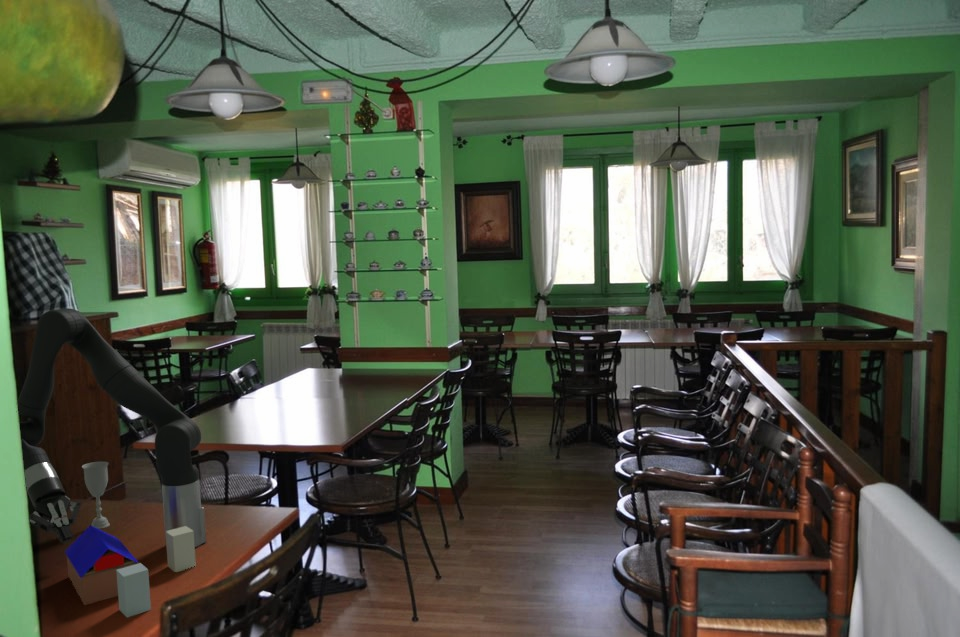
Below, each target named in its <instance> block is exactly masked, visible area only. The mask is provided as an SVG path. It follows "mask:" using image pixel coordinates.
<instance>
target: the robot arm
mask: <svg viewBox="0 0 960 637" xmlns="http://www.w3.org/2000/svg"><path fill="white" fill-rule="evenodd" d="M103 337H104V336H102V335H101V334H100V333H99V331H98V330H97V329H96V328H95V327H94V325H93V324H92V323H91V322H90V321H89V320H88V318H87V317H86V316H85V315H84V314H83V313H82V312H80V311H79V310H76V309H74V308H69V307H67V308H66V307H65V308H57V309H51V310H48V311H46V312H44V313H42V314H41V316H40V317H39V319H38V320H37V324H36V328H35V333H34V339H33V345H32V351H31V355H30V360H29V366H28V371H27V373H26V377H25V380H24V383H23V386H22V388H21V391H20V394H19V397H18V399H17V402H18V411H19V413H18V414H19V415H20V416H22V417H25V418H27V421H19V422H20V430H21V439H22V449H23V460H24V469H25V478H26V487H27V491H26V492H27V494H28V496H29V500H30V501H31V503H32V506H33V513H30V514H29V516H30V522H31V524H30V525H32V526H34V527H36V528H38V529H40V530H42V531H43V532H46V533H50V532H55V533H56V536H57V537H58V541H59V542H61V543H63V544H64V545H65V544H68V543H71V541H72V538H73V536H74V533H73V530H72V529H71V527H72V526H73V525H74V523H75V521H76V518H77V517H78V514H79V512H80V509H81V506H82V504H83V502H82V501H77V502H74V501H71V498H69V497H68V496H67V494H66V491H65V488H64V487H63V484H62V482H61V480H60V478H59V476H58V474H57V471H56V470H55V468H54V467H53V465H52V463H51V461H50V459H49V456H48V454H47V452H46V451H45V449H43V448H42V447H39V444H41V443H42V442H43V439H44V437H45V433H46V432H45V427H46V423H45V422H46V412H47V410H48V406H49V403H50V401H51V398H52V395H53V392H54V389H55V388H54V387H55V362H56V360H57V357H58V355H59V352H60V351H61V349H62V347H63V346H64V345H65V344H68V345H69V346H71V347H72V348H73V349H75V350H76V351H77V352H78V353H79V354H80V355H81V356H83V357H84V359H85V360H86V361H87V363H88V366H89V367H90V370H91V373H92V375H93V377H94V380H95V381H96V383H97V385H98V386H99V387H100V388H101V389H102V390H103V391H104V392H105V393H106V394H107V395H108V396H109V397H110V398H111V400H113V401H114V402H116V403H117V404H118V405H120V406H121V407H124V408H125V409H126V410H129V411H131V412H133V413H135V414H137V415H140V416H141V417H143V418H145V419H147V420H148V421H149V422H151V423H152V424H153V425H154V426H155V427H156V428H157V429H158V430H157V432H156V435H155V438H154V451H155V452H154V453H155V459H156V461H155V462H156V468H157V473H158V475H159V477H160V479H161V480H160V482H161V494H162V506H163V508H162V509H163V520H164V522H163V523H164V534H165V537H166V532H165V531H169V530H172V529H176V528H180V527H184V526H187V527H188V528H190V529H191V530H193V531H194V545H195V548H197V547H199V546H201V545H202V544H204V543H207V534H206V533H207V532H206V520H205V519H206V518H205V508H204V506H202V503H201V502H202V500H201V499H202V498H201V486H200V484H201V483H200V472H199V469H198V468H197V467H196V466H194V465H193V463H192V462H193V461H192V453H191V452H192V451H194V450H195V449H197V447H198V446H199V445H200V444H201V442H202V432H201V430H200V427H199V426H198V425H197V423H196V422H195V421H194V420H193V419H191V417H189V416H187V415H186V414H185V413H184V412H182V411H181V410H180V409H178V408H177V407H176V406H175V405H173V404H172V403H171V402H170V401H169V400H168V399H167V398H165V397H164V396H163V394H161V393H160V392H159V391H158V389H156V388H155V387H154V386H153V385H152V384H151V383H150V382H149V381H148V380H147V379H146V378H145V377H144V376H143V375H142V374H141V372H139V371H138V370H137V369H136V368H135V367H134V366H133V365H132V364H131V363H129V362H128V361H127V360H126V359H125V358H124V357H123V356H122V355H121V354H120V353H119V352H118V351H117V350H116V349H115V348H113V347H112V346H111V345H110V344H109V342H107V341H106V340H105V338H103ZM69 508H70V512H71V515H70V518H68V513H67V512H68V510H69ZM165 548H166V549H167V546H166V545H165Z"/></svg>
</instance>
